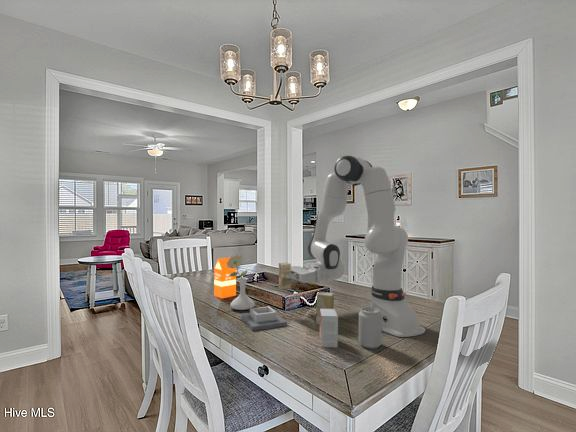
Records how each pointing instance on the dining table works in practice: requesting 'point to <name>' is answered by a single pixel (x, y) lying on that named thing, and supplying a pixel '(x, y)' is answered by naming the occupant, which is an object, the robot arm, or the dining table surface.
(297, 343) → the dining table surface
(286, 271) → the maple peg
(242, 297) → the flower in vase
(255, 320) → the socket board
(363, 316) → the can
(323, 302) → the skincare box
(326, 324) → the small box
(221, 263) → the orange juice
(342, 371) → the dining table surface
